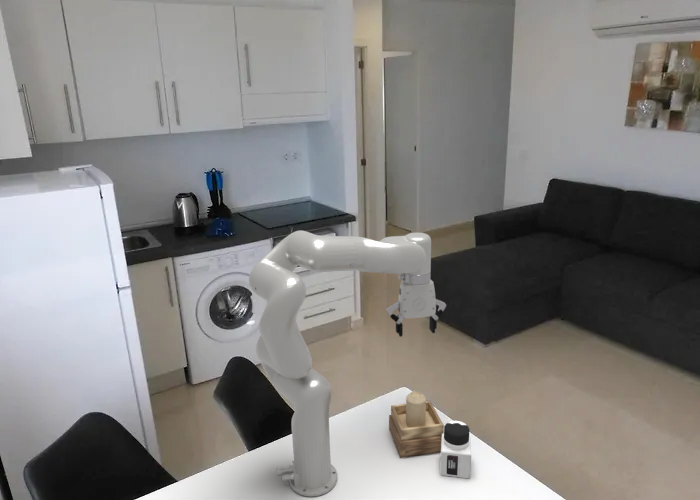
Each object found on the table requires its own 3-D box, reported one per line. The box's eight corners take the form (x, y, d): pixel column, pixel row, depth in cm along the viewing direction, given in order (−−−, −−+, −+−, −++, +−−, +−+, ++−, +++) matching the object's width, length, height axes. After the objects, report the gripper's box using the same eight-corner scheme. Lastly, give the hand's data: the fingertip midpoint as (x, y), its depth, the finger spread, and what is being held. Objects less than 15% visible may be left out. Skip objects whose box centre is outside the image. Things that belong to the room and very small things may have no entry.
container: (470, 479, 136) (472, 436, 132) (440, 475, 138) (441, 433, 134) (469, 459, 143) (471, 418, 140) (441, 456, 145) (442, 415, 141)
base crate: (400, 458, 144) (400, 443, 143) (389, 429, 157) (389, 415, 155) (445, 452, 146) (446, 437, 145) (430, 423, 159) (430, 409, 157)
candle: (404, 419, 152) (404, 389, 149) (422, 417, 153) (423, 387, 150) (408, 430, 147) (408, 399, 144) (427, 429, 148) (428, 398, 145)
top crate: (401, 441, 144) (401, 430, 143) (391, 415, 155) (390, 405, 154) (443, 435, 146) (443, 425, 145) (429, 410, 157) (430, 400, 156)
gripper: (389, 284, 141) (390, 341, 146) (451, 279, 143) (449, 335, 148) (383, 275, 148) (383, 330, 153) (442, 270, 150) (440, 324, 156)
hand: (416, 332), depth 151 cm, fingers open, 9 cm apart
